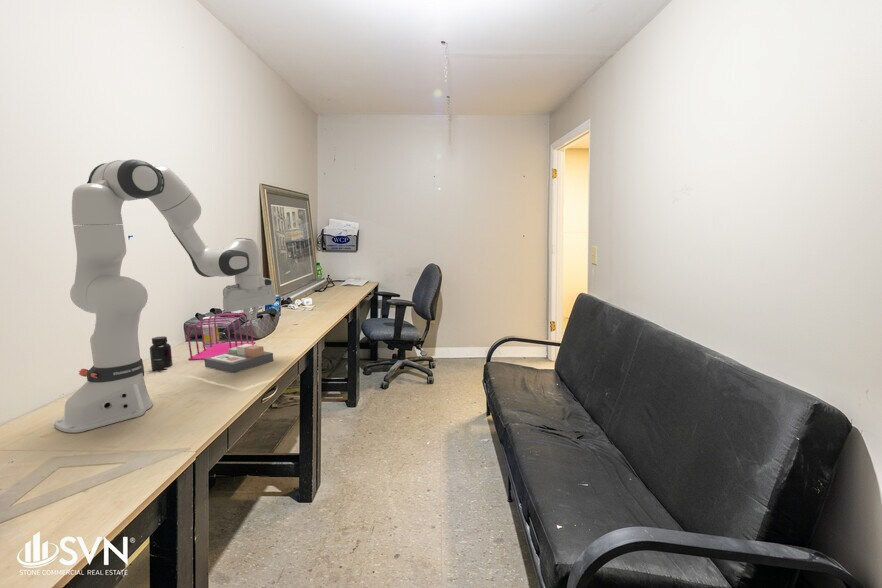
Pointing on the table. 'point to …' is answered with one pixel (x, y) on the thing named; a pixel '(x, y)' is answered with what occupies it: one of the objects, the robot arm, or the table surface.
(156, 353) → the supplement bottle
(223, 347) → the file sorter
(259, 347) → the key terracotta
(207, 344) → the supplement bottle
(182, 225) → the robot arm
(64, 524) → the table surface
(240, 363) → the keypad base
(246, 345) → the block
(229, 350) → the key sage
